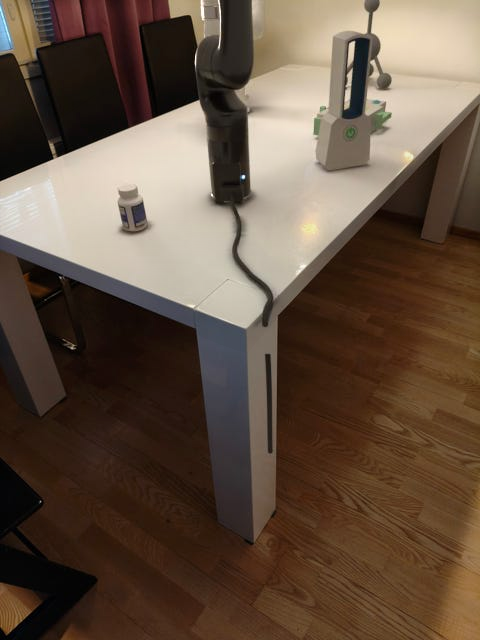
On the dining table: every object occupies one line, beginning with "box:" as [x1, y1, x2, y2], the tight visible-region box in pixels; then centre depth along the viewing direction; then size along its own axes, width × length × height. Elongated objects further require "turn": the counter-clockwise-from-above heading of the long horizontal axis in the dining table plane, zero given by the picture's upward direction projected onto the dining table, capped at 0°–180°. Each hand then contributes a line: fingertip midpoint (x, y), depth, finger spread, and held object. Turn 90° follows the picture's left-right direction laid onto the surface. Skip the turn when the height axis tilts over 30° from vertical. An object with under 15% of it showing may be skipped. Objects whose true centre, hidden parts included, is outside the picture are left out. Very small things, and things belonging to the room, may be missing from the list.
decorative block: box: [313, 98, 393, 136], centre depth 149 cm, size 26×6×20 cm
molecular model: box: [346, 0, 393, 90], centre depth 184 cm, size 24×22×30 cm
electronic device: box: [315, 30, 373, 171], centre depth 119 cm, size 12×8×30 cm, turn 105°
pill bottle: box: [117, 182, 148, 232], centre depth 102 cm, size 5×5×9 cm
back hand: (220, 85), depth 142 cm, fingers closed on brick, 5 cm apart
